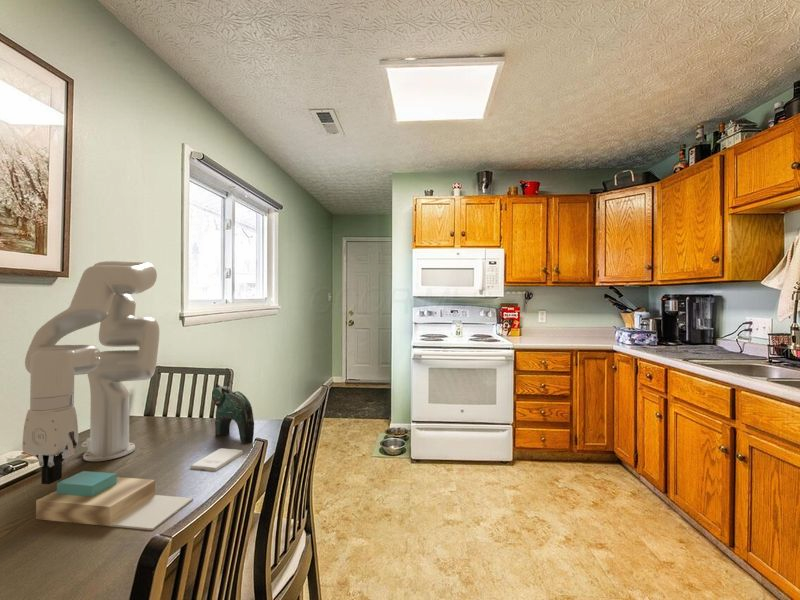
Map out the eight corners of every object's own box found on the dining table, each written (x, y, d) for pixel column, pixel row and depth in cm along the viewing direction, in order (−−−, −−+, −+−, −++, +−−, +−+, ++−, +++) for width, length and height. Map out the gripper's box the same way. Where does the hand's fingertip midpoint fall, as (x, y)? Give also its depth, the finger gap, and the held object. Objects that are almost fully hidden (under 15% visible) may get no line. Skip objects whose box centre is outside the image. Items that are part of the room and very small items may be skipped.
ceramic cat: (209, 434, 132) (209, 378, 132) (226, 429, 137) (227, 375, 137) (242, 447, 121) (242, 385, 121) (259, 441, 126) (259, 381, 126)
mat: (109, 526, 78) (109, 524, 78) (155, 496, 90) (155, 494, 90) (152, 530, 76) (152, 528, 76) (193, 499, 88) (193, 498, 88)
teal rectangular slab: (56, 493, 83) (56, 483, 83) (83, 481, 89) (83, 471, 89) (92, 496, 82) (92, 485, 82) (116, 483, 88) (116, 473, 88)
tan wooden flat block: (36, 519, 80) (36, 500, 80) (89, 491, 92) (89, 475, 92) (109, 526, 78) (109, 506, 78) (155, 496, 90) (155, 479, 90)
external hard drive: (242, 455, 116) (215, 473, 104) (219, 453, 117) (189, 470, 105) (243, 450, 116) (215, 467, 104) (219, 448, 117) (190, 464, 105)
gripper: (6, 405, 84) (5, 487, 84) (63, 408, 82) (62, 491, 82) (42, 397, 92) (41, 472, 92) (96, 399, 90) (95, 476, 89)
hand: (51, 481), depth 87 cm, fingers closed
